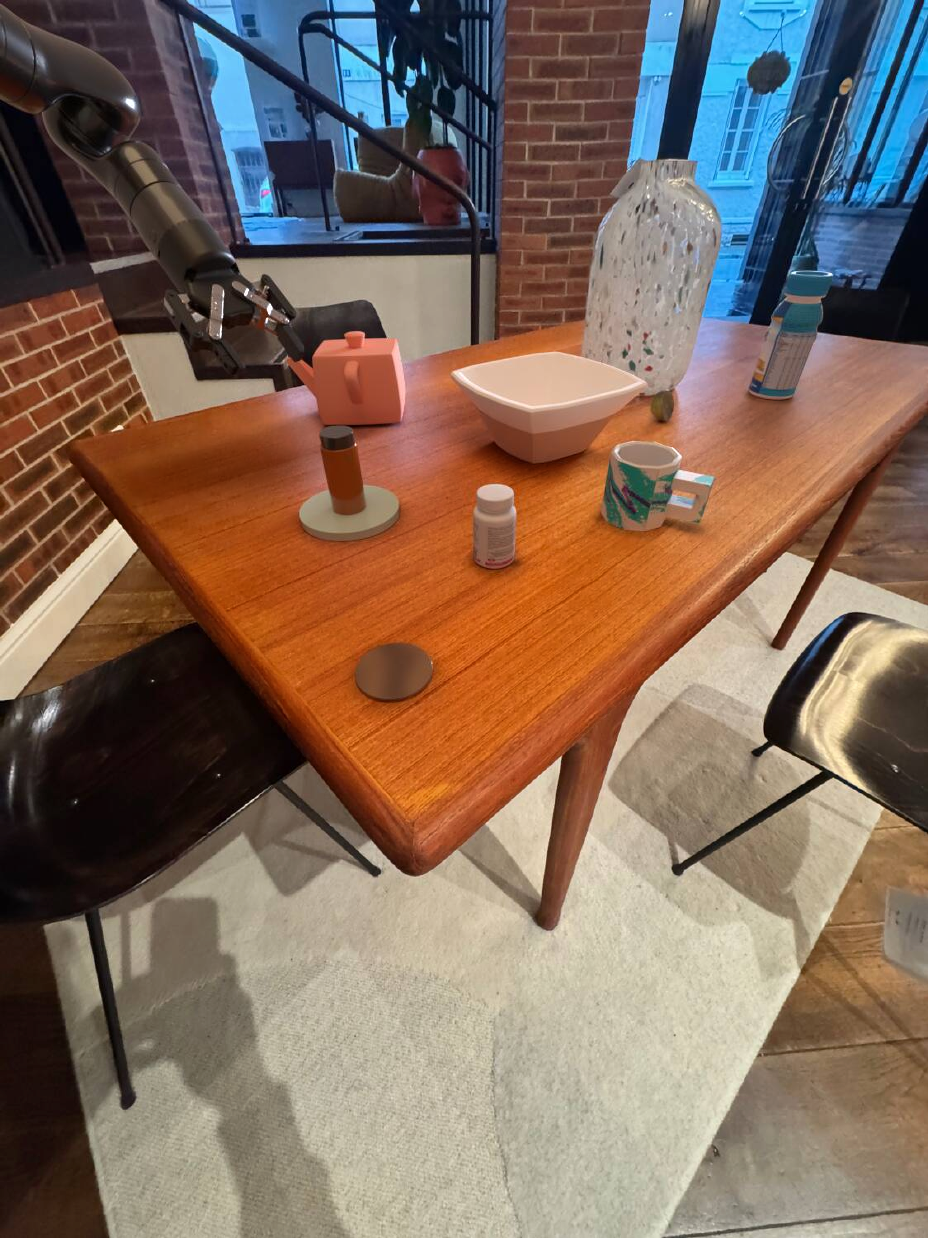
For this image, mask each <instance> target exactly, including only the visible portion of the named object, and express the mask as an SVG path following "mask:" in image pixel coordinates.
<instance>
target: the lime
mask: <svg viewBox="0 0 928 1238" xmlns="http://www.w3.org/2000/svg"><path fill="white" fill-rule="evenodd" d="M674 401H675V400H674V394H673V392H671V390H670V389H663V390H660V391H658V392H657V393H655V395H654V396H653V398H652V400H651V402H650V407H649V410H650V413H651V414H652V416H653V417H654V418H656V419H657V420H659V421H661V422H668V421H670V420H671V418H672V417H673V413H674V410H675V409H674V408H675V402H674Z"/></svg>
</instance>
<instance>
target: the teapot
mask: <svg viewBox="0 0 928 1238" xmlns="http://www.w3.org/2000/svg"><path fill="white" fill-rule="evenodd" d="M343 336H344V339H343V338H342V339H326V340H323V341H322V342H321V343H320V344H319V346H318V347H317V349H316V350H315V352H314V354H313V355H312V358H311V359H312V367H311V366H310V365H309V364H308V363H307V362H305V361H304V360H303V359H302V358H301V361H298V362H294V361H293V360H292V359H291V357H290V356H289V357H286V359H285V362H286V363H287V365H288V366H289V367H290V368H291V370H292V371H293V372H294V374H296V375H297V377H298V378H299V380H300V381H301V382H302V383H303V384H304V385H305V386H306V388H307V389H308V391H310V393H311V394H312V395H313V396H314V398H315V399H316V405H317V411H318V415H319V417H320V420H321V423H322V425H325V426H356V425H357V426H361V425H382V424H383V425H384V424H396V423H401V422H402V420H403V416H404V411H405V406H406V405H405V403H406V383H405V376H404V369H403V368H404V367H403V363H402V357H401V352H400V347H399V343H398V339H397V338H396V337H378V338H377V337H374V338H365V337H366V333H365V332H363V331H361V330H359V331H358V330H357V331H356V330H355V331H354V330H353V331H347V332H346V333H344V335H343Z"/></svg>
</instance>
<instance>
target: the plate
mask: <svg viewBox="0 0 928 1238" xmlns="http://www.w3.org/2000/svg"><path fill="white" fill-rule="evenodd" d="M363 487H364V493H365V500H366V508H365V509H364V510H363V511H361V512H359V513H357V514H352V515H340V514H337V513H335V512H334V511H333V509H332V504H331V499H330V494H329V489H328V488H327V489H325V490H323V491H320V492H318V493H316V494H314V495H312V496H310V497H309V498H308V499H306V500H305V501H304V502H303V504H302V505H301V506H300V508H299V511H298V516H299V521H300V526H301V527H302V529H303V530H304V532H306V533H307V534H309V535H310V536H312V537H313V538H317V539H320V540H323V541H328V542H329V541H331V542H352V541H359V540H363V539H368V538H371V537H373V536H376V535H379V534H382V533H383V532H385V531H387V530H388V529H390V528H391V527H392V526H394V525H395V523H396V522H397V521H398V520H399V518H400V514H401V509H400V501H399V499H398V496H396V494H395V493H394V492H392V491H390V490H389V489H386V488H383V487H381V486H377V485H371V484H363Z"/></svg>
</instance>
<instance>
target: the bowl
mask: <svg viewBox="0 0 928 1238" xmlns="http://www.w3.org/2000/svg"><path fill="white" fill-rule="evenodd" d="M450 377H451V379H452V380H453V381H454V383H455V384H456V385H457V386H458V388H459V389H460V390H461V391H462V392H463V393H464V394H465V395H466V397H467V398H468V399H469V400H470V401H471V402H472V404H473V405H474V407H475V409H476V410H477V412H478V415H479V416H480V418H481V420H482V421H483V423H484V425H485V427H486V429H487V431H488V433H489V434H490V437H491V439H492V441H493V442H494V443H495V444H496V445H497V446H498V447H499V448H500V449H501V450H503V451H504V452H505V453H507V454H509V455H511V456H513V457H515V458H517V459H520V460H522V461H525V462H527V463H530V464H533V465H536V464H542V463H548V462H552V461H556V460H559V459H562V458H566V457H569V456H573V455H575V454H579V453H582V452H584V451H586V450H588V449H589V448H590V447H591V445H592V444H593V443H594V442H595V441H596V439H597V438H598V437H599V435H600V434H601V433H602V431H603V430H604V429H605V428H606V426H607V425H608V424H609V422H611V420H612V419H613V418H614V416H615V415H616V414H617V413H619V412H620V410H621V409H623V408H624V407H625V406H626V405H628V404H629V403H630V402H631V401H632V400H634V399H635V398H636V397H637V396H639V395H640V394H641V393H642V392H643V391H644V390H646V389H647V387H648V383H647V381H645V380H643V379H642V378H639V377H638V376H636V375H634V374H632V373H631V372H627V371H625V370H623V369H620V368H617V367H615V366H612V365H610V364H608V363H604V362H601V361H596V360H594V359H590V358H586V357H583V356H579V355H575V354H570V353H565V352H560V351H550V352H549V351H548V352H539V353H538V352H537V353H530V354H525V355H520V356H519V355H518V356H513V357H507V358H503V359H496V360H492V361H487V362H482V363H476V364H472V365H469V366H465V367H462V368H459V369H455V370H453V371H451V373H450Z"/></svg>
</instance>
